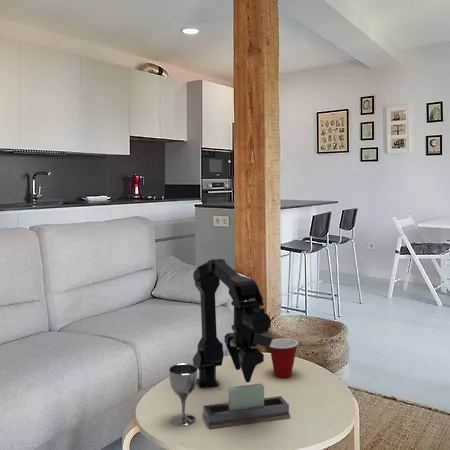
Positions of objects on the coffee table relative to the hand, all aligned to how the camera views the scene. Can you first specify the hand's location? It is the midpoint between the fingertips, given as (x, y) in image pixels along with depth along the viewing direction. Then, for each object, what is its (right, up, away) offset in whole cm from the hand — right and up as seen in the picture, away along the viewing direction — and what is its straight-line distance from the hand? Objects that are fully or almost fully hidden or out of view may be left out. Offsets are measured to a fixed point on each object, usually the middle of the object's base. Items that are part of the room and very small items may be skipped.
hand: (242, 375), depth 147 cm
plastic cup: (+15, -9, +30) cm, 35 cm away
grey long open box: (+1, -12, -1) cm, 12 cm away
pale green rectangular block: (+1, -11, -1) cm, 11 cm away
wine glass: (-17, -12, -2) cm, 21 cm away
